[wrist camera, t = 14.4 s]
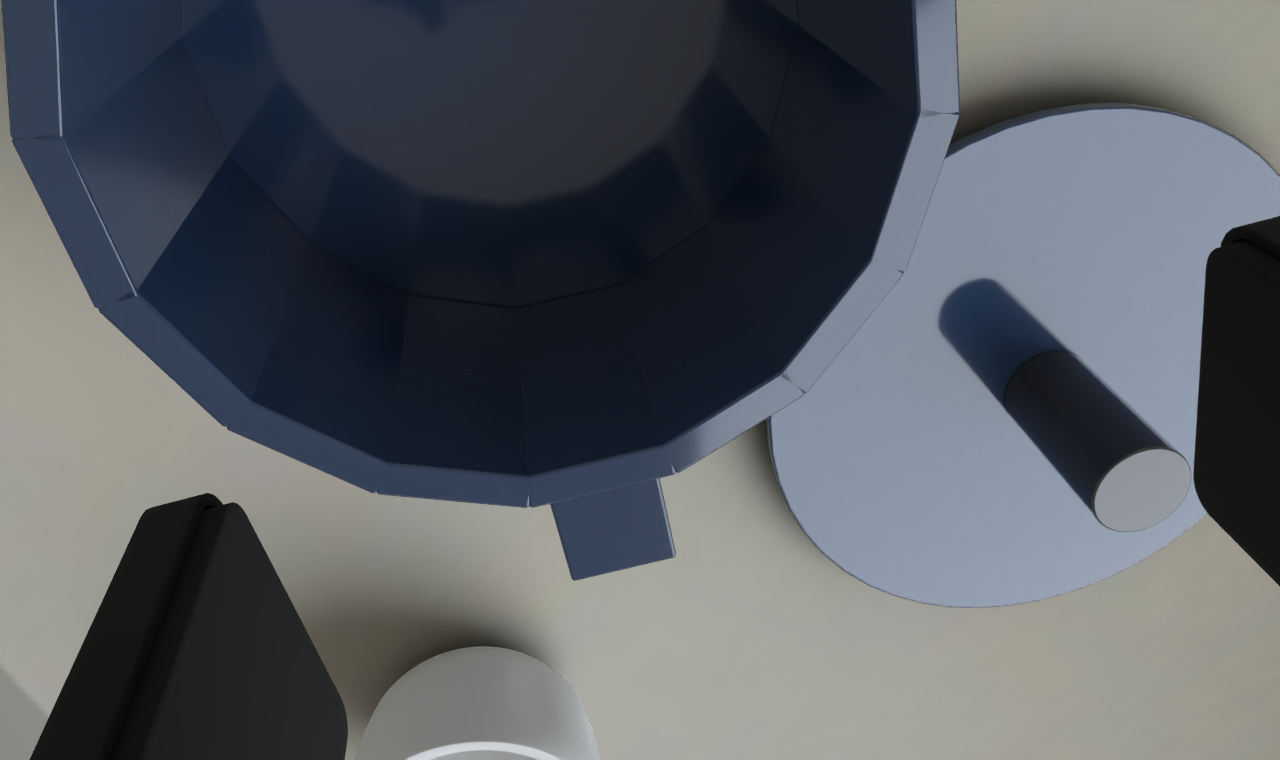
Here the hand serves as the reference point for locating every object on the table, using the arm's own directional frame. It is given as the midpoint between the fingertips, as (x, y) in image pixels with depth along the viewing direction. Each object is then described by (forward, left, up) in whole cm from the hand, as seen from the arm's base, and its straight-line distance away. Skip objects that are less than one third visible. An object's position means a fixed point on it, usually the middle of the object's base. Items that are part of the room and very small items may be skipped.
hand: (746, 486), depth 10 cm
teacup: (+8, +21, -18) cm, 29 cm away
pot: (+2, -1, -18) cm, 18 cm away
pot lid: (-11, +12, -18) cm, 24 cm away
